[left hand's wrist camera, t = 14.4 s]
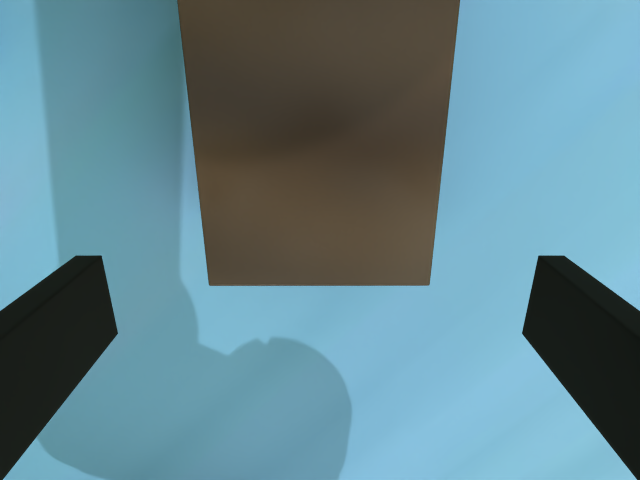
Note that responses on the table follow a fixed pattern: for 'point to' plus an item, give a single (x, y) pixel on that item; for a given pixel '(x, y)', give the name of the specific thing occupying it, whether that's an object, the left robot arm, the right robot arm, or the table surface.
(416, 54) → the brown block
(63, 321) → the left robot arm
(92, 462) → the table surface
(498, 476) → the table surface
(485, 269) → the table surface
